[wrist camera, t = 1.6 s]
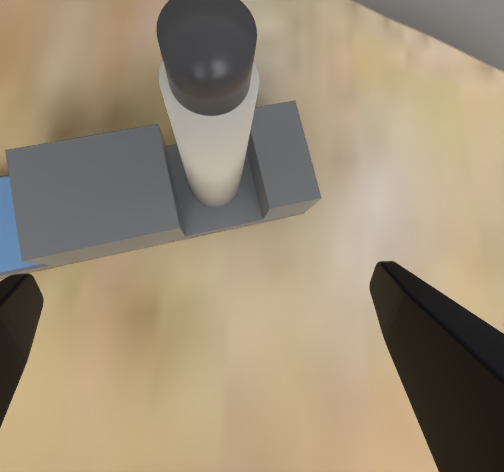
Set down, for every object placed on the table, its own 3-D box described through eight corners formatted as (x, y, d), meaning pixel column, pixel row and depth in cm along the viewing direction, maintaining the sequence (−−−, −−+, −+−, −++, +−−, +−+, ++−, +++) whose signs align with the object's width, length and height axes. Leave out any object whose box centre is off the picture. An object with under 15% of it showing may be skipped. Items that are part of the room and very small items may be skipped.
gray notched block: (303, 213, 23) (321, 198, 19) (-82, 296, 20) (-157, 299, 16) (282, 131, 24) (295, 100, 20) (-93, 199, 21) (-166, 179, 17)
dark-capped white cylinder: (223, 216, 21) (227, 110, 9) (179, 190, 21) (119, 44, 8) (248, 175, 22) (289, 18, 9) (206, 150, 22) (188, -44, 9)
